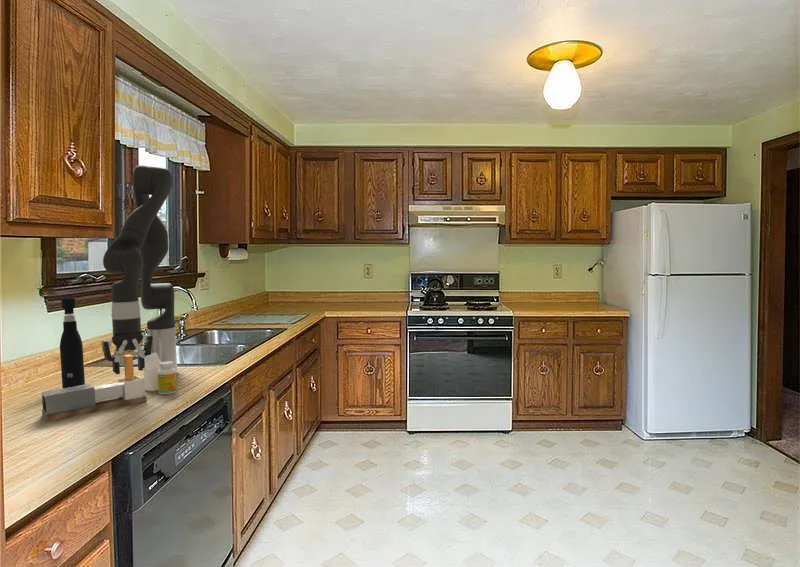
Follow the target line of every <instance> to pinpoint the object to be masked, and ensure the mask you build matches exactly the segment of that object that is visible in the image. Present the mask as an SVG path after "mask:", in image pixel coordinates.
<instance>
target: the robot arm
mask: <svg viewBox="0 0 800 567" xmlns="http://www.w3.org/2000/svg"><path fill="white" fill-rule="evenodd" d="M172 185H173V174H172V173H171V171H170V169H168V168H164V167H158V166H153V165H152V166H151V165H142V164H139V165H136V166H135V168H134V169H133V172H132V187H133V194H134V196H133V197H134V200H135V201H134V202H135V206H136V207H135V210H133V211H132V212H131V213H130V214H129V215H128V216H127V217H126V218H125V221H124V223H123V225H122V228H121V230H120V233H119V235H118V236H117V237H116V238H115V239H114V241H113V242H112V243H111V244H110V246H108V248H107V250H106V251H105V252H104V255H103V258H102V266H103V267H104V269H105V271H107V272H108V273H111V274H124V277H123V279H122V280H120V281H116V282H114V283H112V285H111V289H110V290H111V324H112V337H111V339H107V340H102V341H101V343H100V344H101V347H102V352H103V356H104V360H106V361H108V362H112V372H113V373H114V374H115V375H120V374H121V366H120V361H119V360H120V358H121V356H122V355H123V352H127V351H134V352H135V353H136V355H137V356H138V357H137V369H138V371H144V367H145V360H146V359H145V358H146V357H148V356H149V355H151V354H152V353H154V352H155V353H157V355H158V358H159V360H160V361H161V362H165V361H172V362H173V368H174V369H175V370H176V375H177V374H178V356H177V355H178V353H177V339H176V335H177V334H176V322H175V320H176V319H175V288H174V286H173V284H172V283H170V282H168V283H167V282H165V283H164V282H162V283H160V282H159V283H152V279H153V276H154V274H155V272H156V270H157V269H158V267H159V266H160V265H161V263H162V262H163V260H164V259H165V257H166V256H167V254H168V251H169V234H168V229H167V228H166V226H165V224H164V223H163V221H162V219H160V217H159V216H158V213H159V211H160V210H161V209H162V207H163V205H164V204H165V201H167V198H168V196H169V195H170V193H171V190H172V187H173V186H172ZM139 284H140V302H139ZM140 303H141V306H142V308H143V309H144V310H148V311H149V310H150V311H151V310H162V309H163V310H164V311H163V312H162V313H161V314H160V315H158V316H156V317H153V318H151V319H148V320H147V322H146V329H147V331H146V332H147V333H146V334H147V335H145V334H144V335H143V333H142V326H141V325H142V324H141V322H142V321H141V320H142V319H141V308H140ZM142 341H143V342H144V343H145V344H144V351H143V348H141V346H140V344H141V342H142ZM112 344H113V345H114V346H115V348H114V351H113V355H112V354H111V349H110V348H111V347H112Z"/></svg>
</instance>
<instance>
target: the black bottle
mask: <svg viewBox="0 0 800 567" xmlns="http://www.w3.org/2000/svg"><path fill="white" fill-rule="evenodd" d="M60 300H61V309H64V316H63V322H62V325H63V331H62V334H61V336H60V343H59V352H60V353H59V355H60V368H61V385H62V386H61V387H62V388H61V389H63V388H68V387H74V386H80V385H85V384H86V378H85V364H84V363H85V361H84V348H83V347H84V345H83V340H82V337H81V334H80V333H79V330H78V326H77V325H78V324H77V320H76V315H74V314H75V311H74V309H75V308H77V307H76V306H77V304H76V297H62V298H61V299H60Z"/></svg>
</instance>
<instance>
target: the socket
mask: <svg viewBox="0 0 800 567" xmlns="http://www.w3.org/2000/svg"><path fill="white" fill-rule="evenodd" d="M123 381H125V376H124V377H120V378H119V377H118V378H117V383H118V382H123ZM144 396H146V391H145V382H144V377H142V376H140V375H137V374H134V380H130V381H125V382H124V396H123V397H121V398H123V399H124V400H129V399H134V398H139V397H144Z"/></svg>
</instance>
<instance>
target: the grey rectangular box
mask: <svg viewBox="0 0 800 567" xmlns="http://www.w3.org/2000/svg"><path fill="white" fill-rule="evenodd" d="M94 387H95V386H94V385H92V384H90V383H85V385H80V386H74V387H68V388H57V389H52V390H51V389H50V390H46V391H41V403H42V410H43V412H44V413H45V414H46V415H47V416H48V415H53V414H58V413H63V412H68V411H73V410H78V409H83V408H88V407H93V406H96V404H95V388H94Z"/></svg>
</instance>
